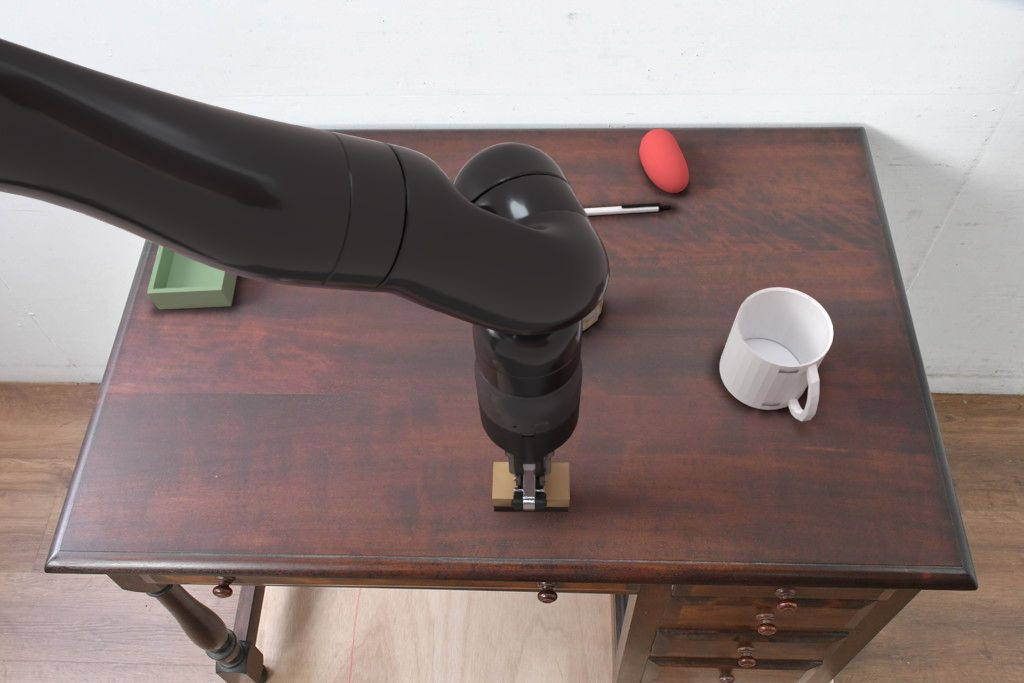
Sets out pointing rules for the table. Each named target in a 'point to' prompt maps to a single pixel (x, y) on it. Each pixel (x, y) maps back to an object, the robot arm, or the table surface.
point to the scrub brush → (554, 487)
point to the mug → (777, 351)
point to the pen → (626, 209)
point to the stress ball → (664, 161)
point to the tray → (188, 283)
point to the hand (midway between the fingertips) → (531, 476)
